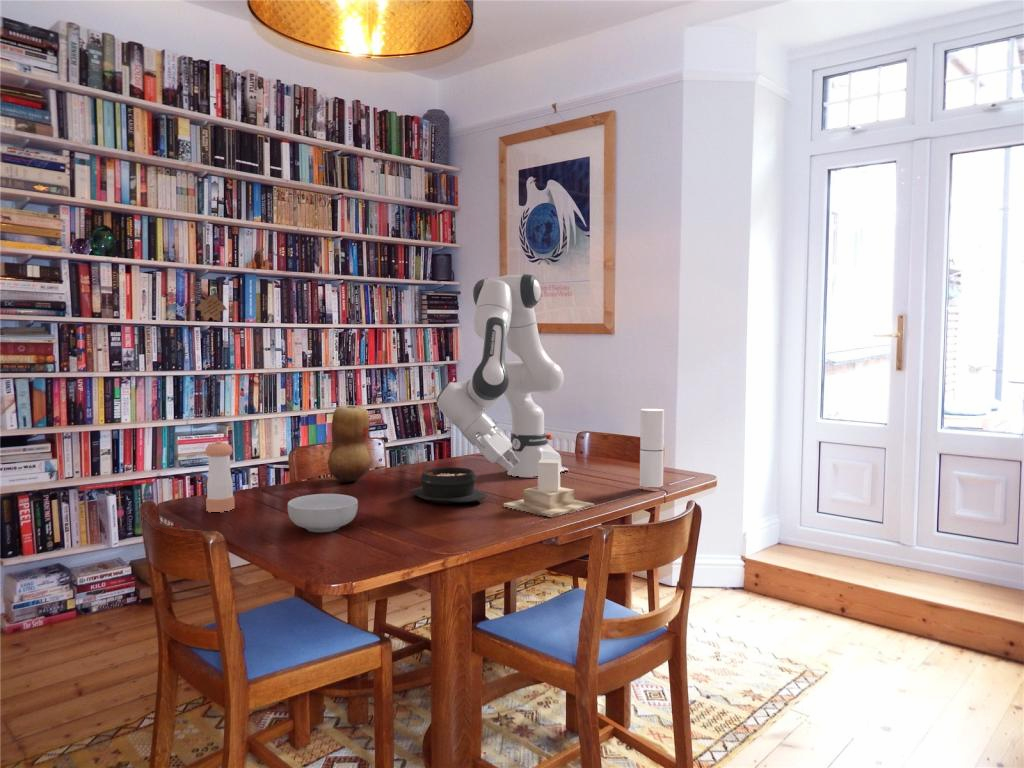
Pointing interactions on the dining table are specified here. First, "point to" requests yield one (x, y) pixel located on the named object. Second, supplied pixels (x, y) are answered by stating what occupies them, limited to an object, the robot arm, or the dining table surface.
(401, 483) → the dining table surface
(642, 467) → the cylindrical container
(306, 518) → the cereal bowl
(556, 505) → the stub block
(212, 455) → the salt shaker
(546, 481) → the upright ivory block
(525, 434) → the robot arm
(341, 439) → the butternut squash
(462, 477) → the casserole
